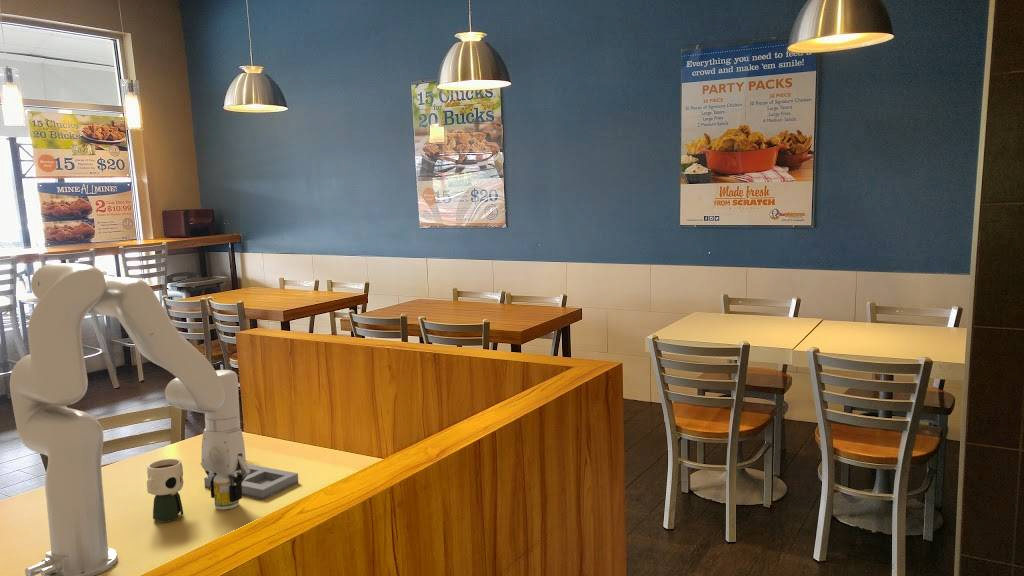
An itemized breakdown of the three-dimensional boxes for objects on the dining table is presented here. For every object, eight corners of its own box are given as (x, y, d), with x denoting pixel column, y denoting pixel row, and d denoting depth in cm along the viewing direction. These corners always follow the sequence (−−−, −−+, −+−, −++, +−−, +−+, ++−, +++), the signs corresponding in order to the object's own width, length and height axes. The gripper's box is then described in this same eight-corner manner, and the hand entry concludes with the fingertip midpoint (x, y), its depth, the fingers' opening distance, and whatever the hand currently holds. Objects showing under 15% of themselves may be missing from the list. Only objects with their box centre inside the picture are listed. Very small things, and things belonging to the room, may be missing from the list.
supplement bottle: (238, 508, 170) (236, 468, 169) (213, 511, 169) (211, 471, 168) (239, 500, 175) (237, 461, 174) (215, 502, 174) (213, 463, 173)
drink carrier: (263, 499, 175) (262, 489, 175) (204, 487, 184) (204, 477, 184) (298, 482, 186) (297, 473, 186) (241, 471, 195) (240, 462, 195)
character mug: (164, 530, 160) (160, 473, 158) (137, 527, 161) (133, 470, 160) (197, 510, 170) (194, 456, 169) (171, 507, 172) (168, 454, 170)
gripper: (183, 423, 170) (188, 497, 172) (236, 432, 163) (240, 510, 165) (209, 415, 177) (213, 487, 179) (262, 423, 170) (265, 498, 171)
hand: (226, 497), depth 172 cm, fingers closed on supplement bottle, 5 cm apart
